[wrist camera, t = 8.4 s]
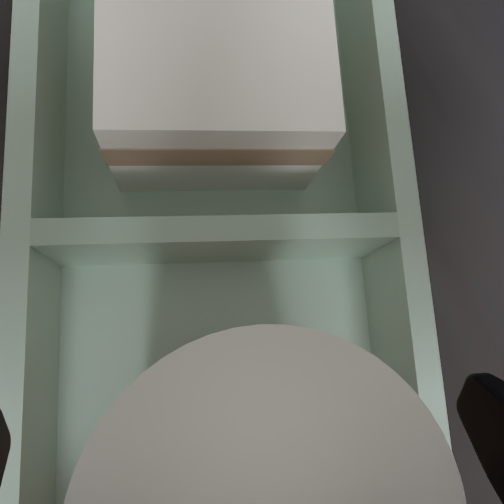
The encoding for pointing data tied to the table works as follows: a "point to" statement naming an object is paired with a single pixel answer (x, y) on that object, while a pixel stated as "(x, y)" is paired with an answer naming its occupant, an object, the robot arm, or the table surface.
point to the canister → (267, 428)
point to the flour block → (216, 93)
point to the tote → (190, 245)
